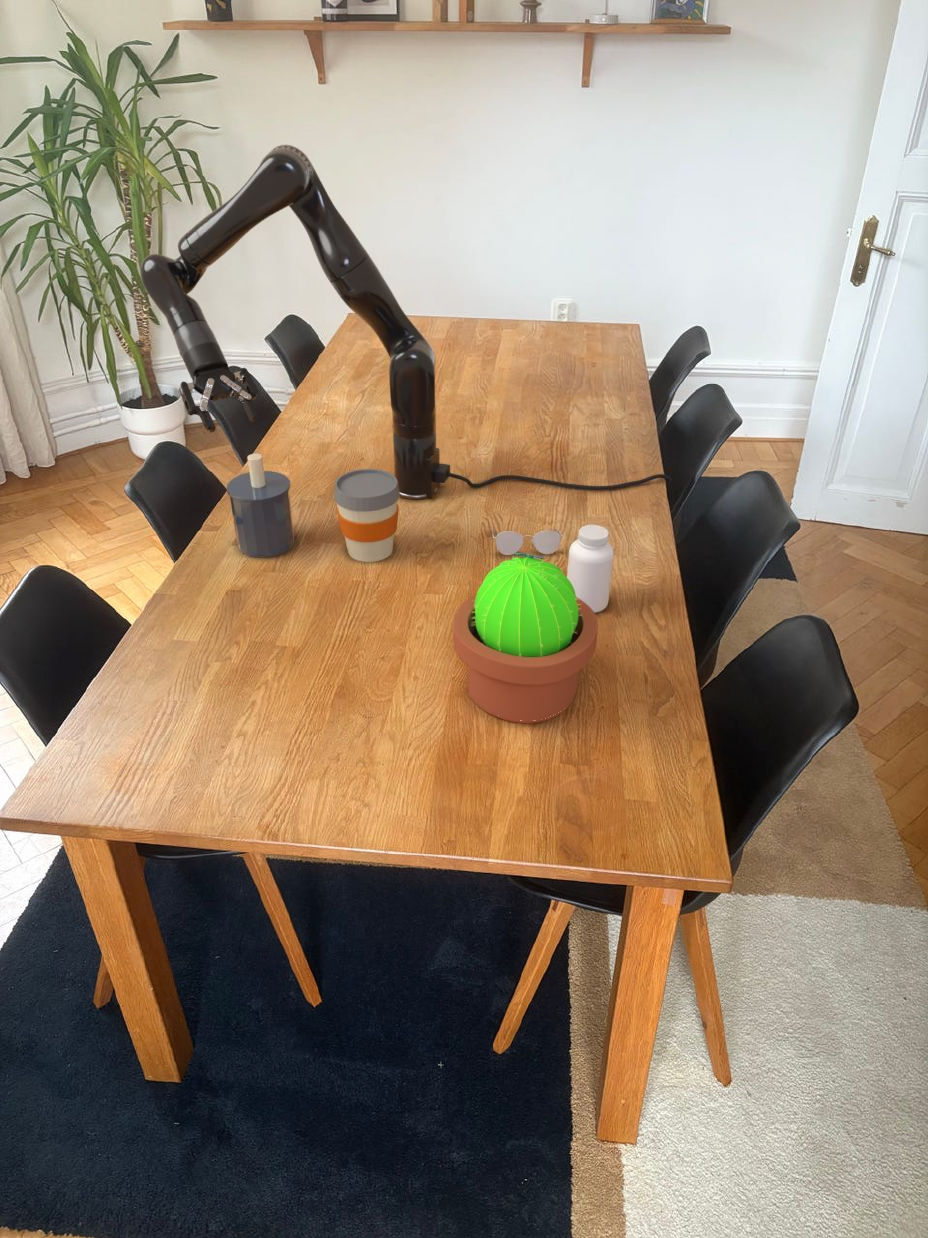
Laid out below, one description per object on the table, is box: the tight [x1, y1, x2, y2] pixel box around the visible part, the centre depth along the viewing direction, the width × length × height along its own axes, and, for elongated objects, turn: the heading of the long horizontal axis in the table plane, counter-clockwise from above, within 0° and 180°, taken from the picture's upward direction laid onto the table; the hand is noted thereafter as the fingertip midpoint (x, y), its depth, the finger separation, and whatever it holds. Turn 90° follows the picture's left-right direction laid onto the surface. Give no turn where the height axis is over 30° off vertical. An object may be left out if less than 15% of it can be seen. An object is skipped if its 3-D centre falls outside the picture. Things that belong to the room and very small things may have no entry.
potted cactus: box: [452, 552, 599, 724], centre depth 147 cm, size 22×22×25 cm
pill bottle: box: [566, 524, 615, 614], centre depth 170 cm, size 8×8×15 cm
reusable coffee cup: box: [333, 468, 400, 563], centre depth 185 cm, size 12×13×15 cm
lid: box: [226, 453, 291, 502], centre depth 183 cm, size 12×12×7 cm
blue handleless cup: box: [229, 490, 295, 559], centre depth 188 cm, size 11×11×13 cm
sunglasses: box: [491, 527, 564, 556], centre depth 191 cm, size 14×8×5 cm, turn 93°
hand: (233, 425), depth 184 cm, fingers open, 8 cm apart
